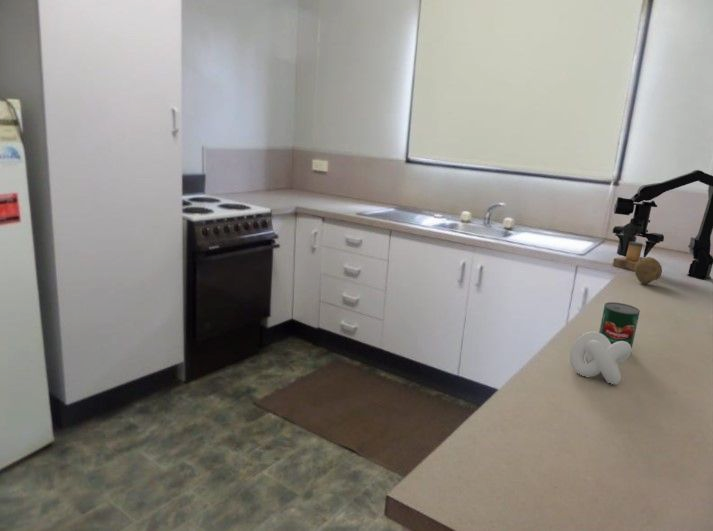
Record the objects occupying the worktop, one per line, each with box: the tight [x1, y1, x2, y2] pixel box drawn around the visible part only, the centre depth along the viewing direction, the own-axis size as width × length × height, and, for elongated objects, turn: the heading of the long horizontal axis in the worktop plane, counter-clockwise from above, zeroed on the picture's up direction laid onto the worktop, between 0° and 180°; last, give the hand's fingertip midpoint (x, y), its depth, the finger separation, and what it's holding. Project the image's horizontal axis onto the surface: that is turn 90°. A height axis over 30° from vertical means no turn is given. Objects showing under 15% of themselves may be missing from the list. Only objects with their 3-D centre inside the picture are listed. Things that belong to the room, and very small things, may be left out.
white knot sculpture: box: [569, 330, 633, 385], centre depth 118 cm, size 11×12×9 cm
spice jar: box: [625, 241, 644, 262], centre depth 226 cm, size 5×5×7 cm
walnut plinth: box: [612, 256, 637, 272], centre depth 227 cm, size 10×10×3 cm
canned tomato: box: [598, 301, 641, 349], centre depth 135 cm, size 8×8×11 cm
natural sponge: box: [634, 256, 663, 285], centre depth 202 cm, size 9×9×10 cm
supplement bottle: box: [616, 236, 637, 257], centre depth 252 cm, size 7×7×12 cm
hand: (633, 254), depth 226 cm, fingers open, 9 cm apart
